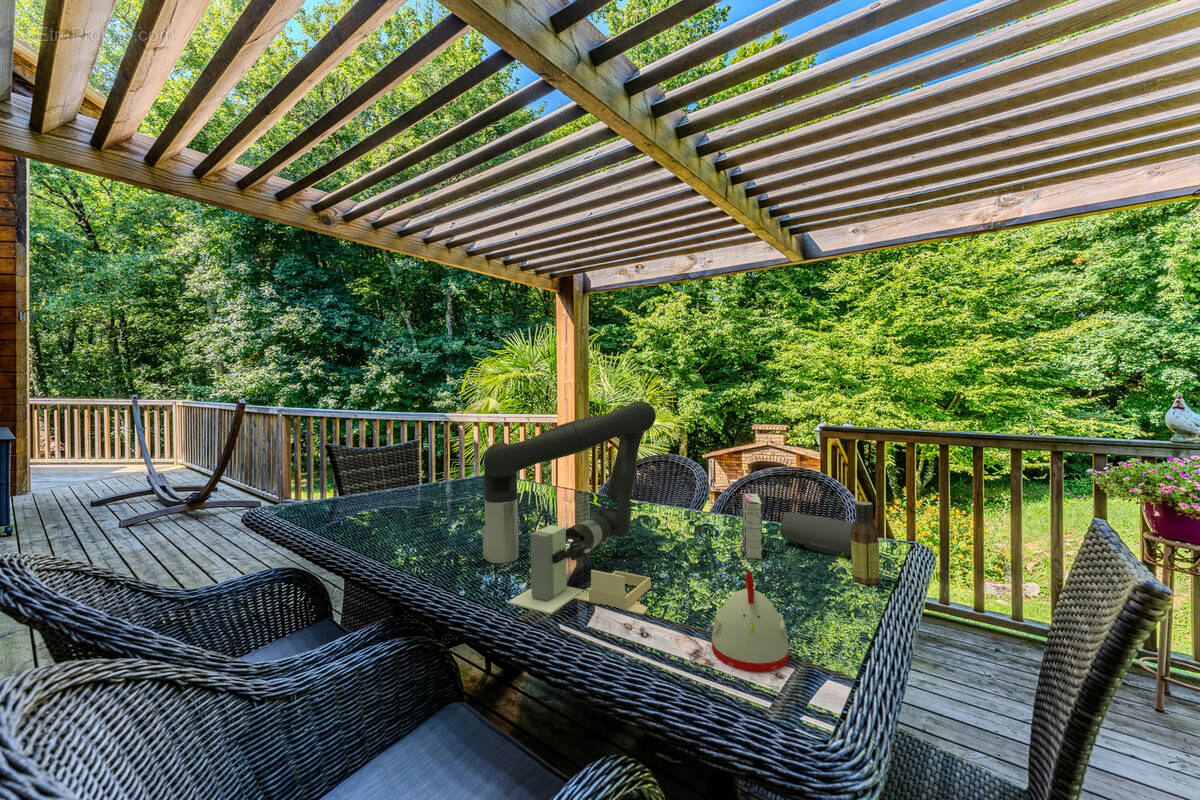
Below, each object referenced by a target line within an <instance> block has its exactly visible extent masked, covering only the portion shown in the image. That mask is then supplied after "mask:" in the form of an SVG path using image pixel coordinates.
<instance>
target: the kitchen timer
mask: <svg viewBox="0 0 1200 800" xmlns="http://www.w3.org/2000/svg"><path fill="white" fill-rule="evenodd" d="M745 576H746V577H745V588H742V589H739V590H738V591H736V592H734V593H733V594H732V595H730V596H729V597H728V598H727V599H726V601H724V604H723V605H722V607H721V608H717V610H716V613H715V616H714V621H713V627H712V636H711V651H712V653H713V656H714V657H716V659H717V660H719V661H720V662H722V663H723V664H725V665H726V666H729V667H731V668H734V669H737V670H740V671H744V672H753V673H769V672H773V671H778V670H780V669H782V668H783V667H785V666H786V665H787V663H788V662H789V641H788V639H789V637H788V631H787V626H786V622H785V620H784V618H783V616H782V613H780V612H778V611H777V609H776V608H775V606H774V605H773V603H772V602H771V601H770V599H768V598H767V597H766V596H765V595H764V594H763V593H761V592H760V591H758V590H755V589H754V578H753V571H747V572H746V575H745Z"/></svg>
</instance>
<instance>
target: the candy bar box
mask: <svg viewBox="0 0 1200 800" xmlns="http://www.w3.org/2000/svg"><path fill="white" fill-rule="evenodd" d="M741 494H742V547H743V552H744V557H745V559H748V560H763V502H762V499H761V497H760V494H759V493H747V492H746V493H741Z"/></svg>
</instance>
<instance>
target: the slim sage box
mask: <svg viewBox="0 0 1200 800" xmlns="http://www.w3.org/2000/svg"><path fill="white" fill-rule="evenodd" d="M566 529H567V528H566V527H564V526H560V525H559V526H558V525H551V524H550V525H548V526H545V527H543V528H540V529H539V530H535V531H533V532H532V533H530V534H529V535H530V573H531V574H530V575H531V578H530V579H531V581H530V582H531V583H530V584H531V588H532V597H533V598H537V599H541V600H546V601H548V600H550V599H551V598H553V597H554V596H556V595H557V594H559V593H560V592H562V591H563V590H565V589H566V588H567V586H568V585H567V560H562V561H560V562H558V563H556V564H554V563H552V555H553V554H554V553H556V552H558V551H560V550H563V549H564V548H565V547H566Z"/></svg>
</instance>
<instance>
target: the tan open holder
mask: <svg viewBox="0 0 1200 800" xmlns="http://www.w3.org/2000/svg"><path fill="white" fill-rule="evenodd" d="M651 580H652V578H651V577H650V576H649V577H648V576H643V575H639V574H634V573H630V572H624V571H618V570H614V571H613V572H611V573H609V572H604V571H599V570H594V569H591V570H590V584H591V585H590V586H589V587H587V588H586V589H583V590H584V592H581V593H580V594H579V595H577V596H576V597H574V599H575V600H579V601H583V602H586V601H587V603H590V604H591V603H592V604H595V603H596V604H595V605H599V604H603V605H608V606H611V607H610V608H612V607H616V608H619V609H618V610H620V609H621V610H622V611H625V612H630V613H633V614H638V615H642V616H643V615H644V614H646V612H647V611H648V610H649V609H648V607H646V606H644V605H643V604H642V605H641V604H640V603H639V602H638V601H637V600H638V599H639V597H641V595H643V594H644V593H645V592H646V591H647V590H648V589H650V588H651V589H652V587H651V582H652V581H651ZM625 584H628V585H634V586H637V587H636V588H635V587H634V588H633V589H632V590H631V591H630V592H628V593H627V594H626V586H625ZM590 587H591V588H590ZM586 590H588V591H586ZM574 599H573V600H574ZM638 603H639V604H638ZM603 605H602V606H603ZM608 606H607V607H608ZM616 608H615V609H616ZM647 609H648V610H647Z"/></svg>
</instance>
